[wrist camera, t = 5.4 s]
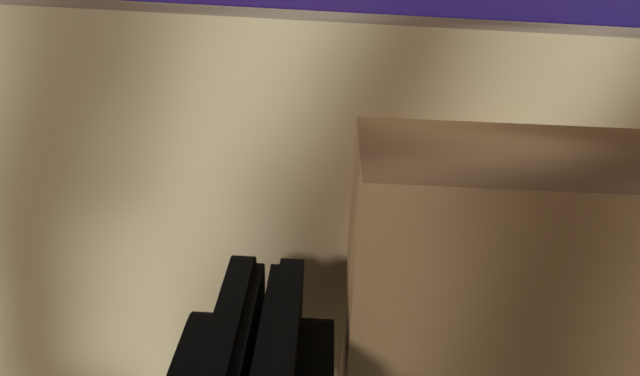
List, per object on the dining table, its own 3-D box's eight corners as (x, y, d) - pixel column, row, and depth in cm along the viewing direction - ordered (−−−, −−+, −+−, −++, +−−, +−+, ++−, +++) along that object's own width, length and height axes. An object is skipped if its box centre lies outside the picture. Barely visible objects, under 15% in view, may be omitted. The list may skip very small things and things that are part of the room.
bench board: (1045, 49, 10) (1805, 190, 5) (770, 416, 16) (987, 666, 11) (-297, -22, 11) (-945, 38, 5) (-97, 363, 17) (-311, 580, 11)
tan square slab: (736, 132, 10) (871, 205, 8) (603, 413, 15) (661, 520, 12) (356, 116, 10) (362, 182, 8) (336, 399, 15) (335, 502, 12)
